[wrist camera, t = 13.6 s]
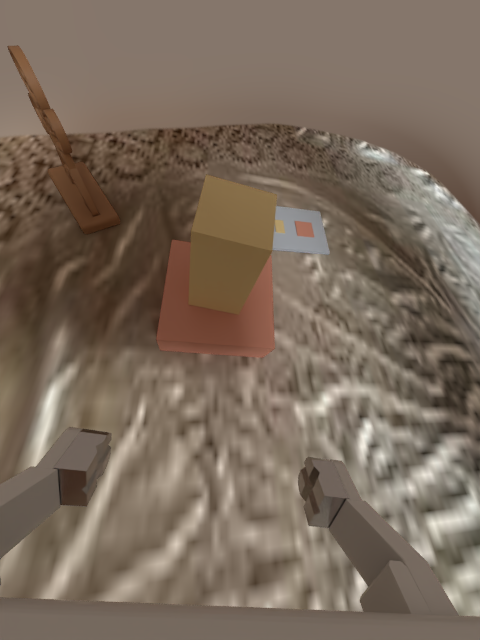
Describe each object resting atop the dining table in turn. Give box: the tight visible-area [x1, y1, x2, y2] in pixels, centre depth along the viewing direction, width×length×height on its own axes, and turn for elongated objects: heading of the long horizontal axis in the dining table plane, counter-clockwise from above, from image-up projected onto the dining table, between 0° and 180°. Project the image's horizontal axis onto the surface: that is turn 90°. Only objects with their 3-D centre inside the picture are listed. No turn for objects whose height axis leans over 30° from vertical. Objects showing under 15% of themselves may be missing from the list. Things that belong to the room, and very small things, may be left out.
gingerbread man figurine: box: [8, 46, 120, 234], centre depth 21 cm, size 9×4×12 cm, turn 35°
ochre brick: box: [188, 174, 277, 315], centre depth 18 cm, size 4×4×9 cm
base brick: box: [156, 240, 275, 358], centre depth 24 cm, size 10×10×4 cm
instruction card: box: [272, 206, 330, 255], centre depth 31 cm, size 10×7×1 cm
